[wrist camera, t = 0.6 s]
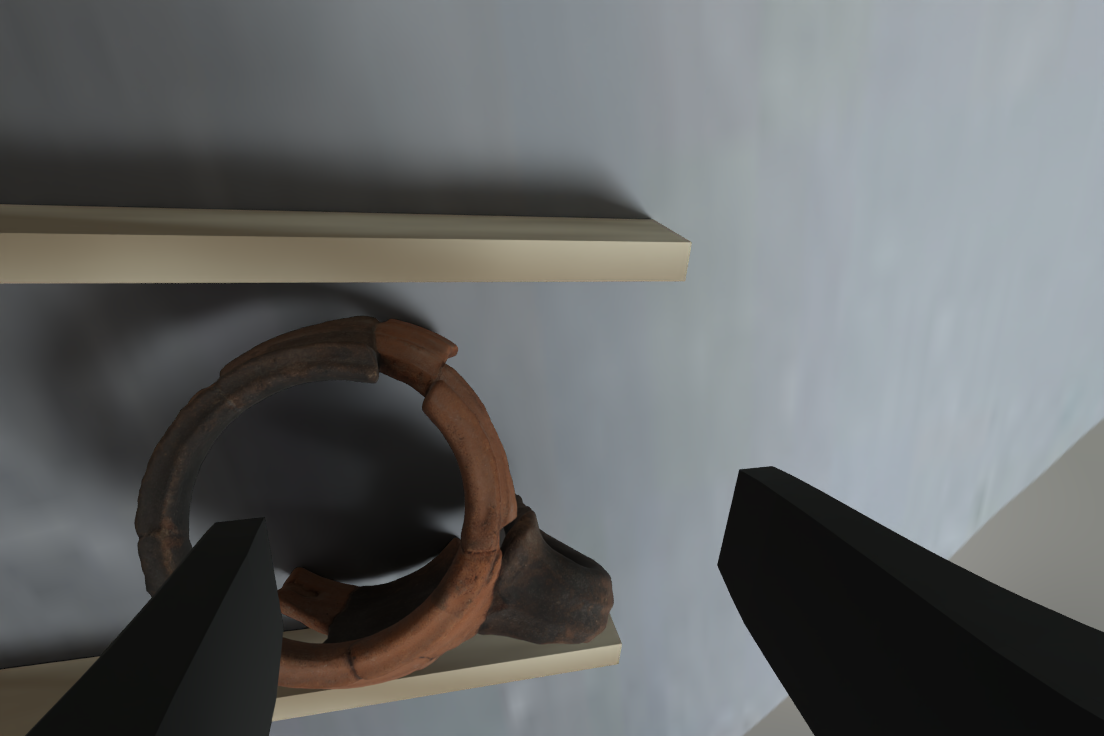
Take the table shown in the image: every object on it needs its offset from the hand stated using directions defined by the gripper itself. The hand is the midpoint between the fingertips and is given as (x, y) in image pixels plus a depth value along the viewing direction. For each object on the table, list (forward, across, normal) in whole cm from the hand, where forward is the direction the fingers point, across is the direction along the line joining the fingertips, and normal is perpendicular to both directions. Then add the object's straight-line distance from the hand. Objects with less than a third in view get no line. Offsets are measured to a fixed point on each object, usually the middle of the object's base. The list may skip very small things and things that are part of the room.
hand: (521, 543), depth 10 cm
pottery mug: (+10, +2, +5) cm, 11 cm away
